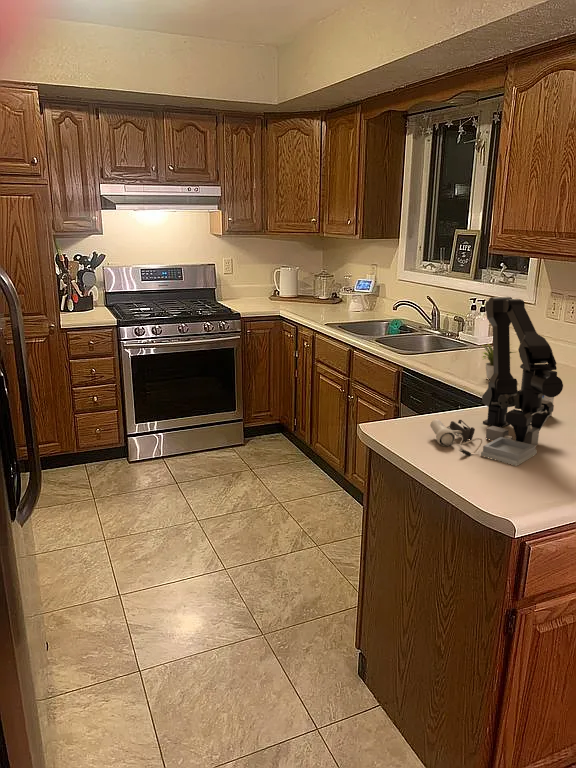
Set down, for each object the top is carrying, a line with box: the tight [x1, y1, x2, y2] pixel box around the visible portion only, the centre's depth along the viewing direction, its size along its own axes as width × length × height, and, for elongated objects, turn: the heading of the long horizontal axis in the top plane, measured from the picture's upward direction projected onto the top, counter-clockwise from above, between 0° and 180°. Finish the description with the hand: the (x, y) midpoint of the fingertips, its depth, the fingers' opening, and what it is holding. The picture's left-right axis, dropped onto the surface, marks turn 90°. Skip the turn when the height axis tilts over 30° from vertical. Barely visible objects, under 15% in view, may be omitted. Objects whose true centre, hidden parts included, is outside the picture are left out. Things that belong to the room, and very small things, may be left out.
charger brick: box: [515, 427, 540, 447], centre depth 171 cm, size 4×4×6 cm
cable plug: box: [485, 425, 513, 441], centre depth 174 cm, size 4×7×4 cm, turn 45°
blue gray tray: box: [480, 437, 538, 467], centre depth 164 cm, size 12×10×3 cm
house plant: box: [481, 342, 516, 379], centre depth 240 cm, size 14×14×16 cm
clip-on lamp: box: [429, 418, 483, 456], centre depth 171 cm, size 12×6×18 cm
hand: (526, 440), depth 171 cm, fingers open, 9 cm apart
